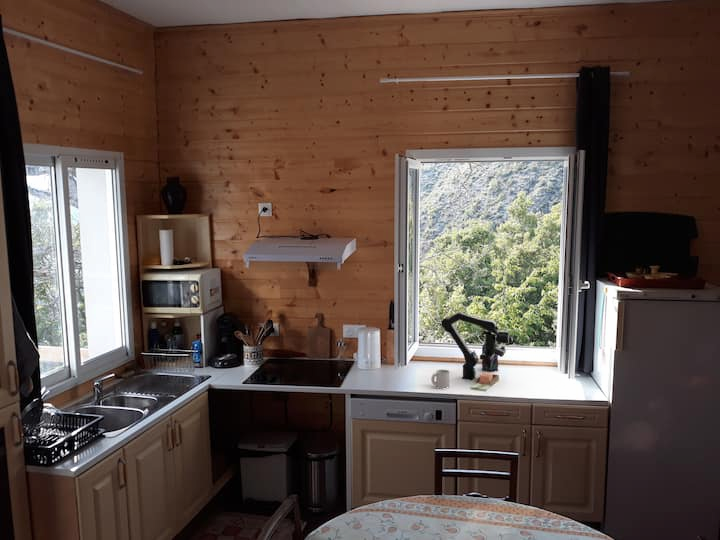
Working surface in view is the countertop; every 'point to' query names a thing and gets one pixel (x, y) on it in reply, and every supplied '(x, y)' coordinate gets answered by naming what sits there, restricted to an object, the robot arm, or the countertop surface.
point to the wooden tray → (484, 385)
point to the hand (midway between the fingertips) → (489, 368)
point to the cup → (441, 378)
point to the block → (486, 378)
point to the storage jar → (494, 364)
